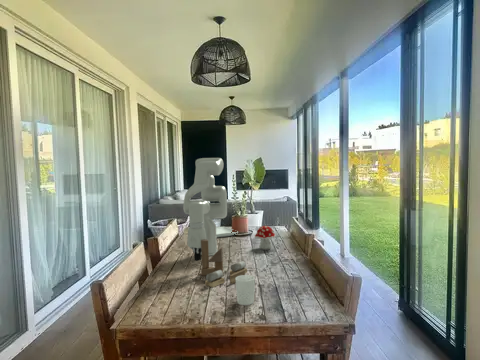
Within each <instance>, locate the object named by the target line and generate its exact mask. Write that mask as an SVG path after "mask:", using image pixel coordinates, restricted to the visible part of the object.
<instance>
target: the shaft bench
mask: <svg viewBox="0 0 480 360" xmlns="http://www.w3.org/2000/svg"><path fill="white" fill-rule="evenodd" d="M246 266H247V265H246V262H245V261H244V260H241V261H238V262H236V263H233V264H232V265H230V270H229V284H231V285H233V284H236V280H235V278H236V277H237V276H240V275H246V274H247V273H248V268H247V267H246ZM205 278H206V280H205V282H204V284H205V286H207V287H211V288H215V287H217V286H220V285H221V284H224V283H225V277H224V271H223V272H222V270H218V271H215V272H213V273H210V274H207V276H205Z"/></svg>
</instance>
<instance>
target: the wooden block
mask: <svg viewBox="0 0 480 360" xmlns="http://www.w3.org/2000/svg"><path fill="white" fill-rule="evenodd" d="M201 250H202V255H201V268H200V273H201V276H204V277H206V276H207V274H210V273H213V272H215V271H218V270H222V272H223V273H224V264H223V263H224V261H223V260H224V257H223V256H224V255H223V246H221V247H220V248H219V249H217V250H218V251H217V252H216V253H215V254H214V255H212V256H211V258H210V256H209V249H208V240H207V239H204V240H201ZM210 263H214V267H213V266H210Z"/></svg>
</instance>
